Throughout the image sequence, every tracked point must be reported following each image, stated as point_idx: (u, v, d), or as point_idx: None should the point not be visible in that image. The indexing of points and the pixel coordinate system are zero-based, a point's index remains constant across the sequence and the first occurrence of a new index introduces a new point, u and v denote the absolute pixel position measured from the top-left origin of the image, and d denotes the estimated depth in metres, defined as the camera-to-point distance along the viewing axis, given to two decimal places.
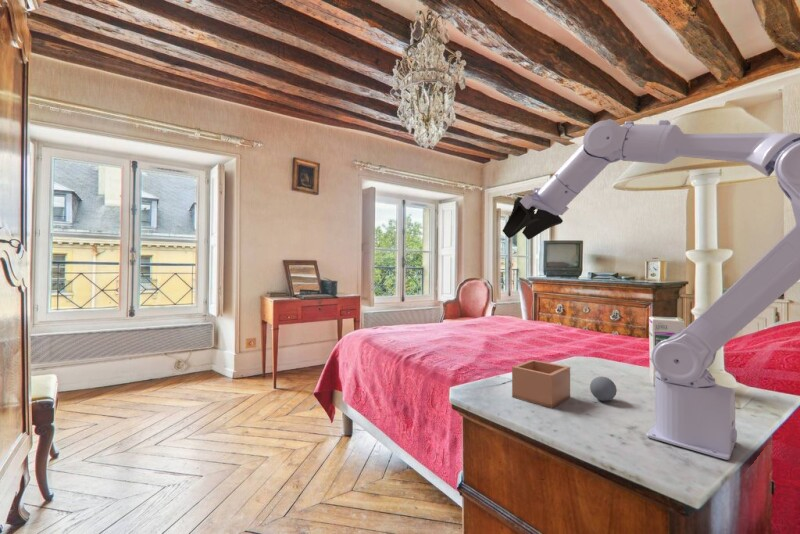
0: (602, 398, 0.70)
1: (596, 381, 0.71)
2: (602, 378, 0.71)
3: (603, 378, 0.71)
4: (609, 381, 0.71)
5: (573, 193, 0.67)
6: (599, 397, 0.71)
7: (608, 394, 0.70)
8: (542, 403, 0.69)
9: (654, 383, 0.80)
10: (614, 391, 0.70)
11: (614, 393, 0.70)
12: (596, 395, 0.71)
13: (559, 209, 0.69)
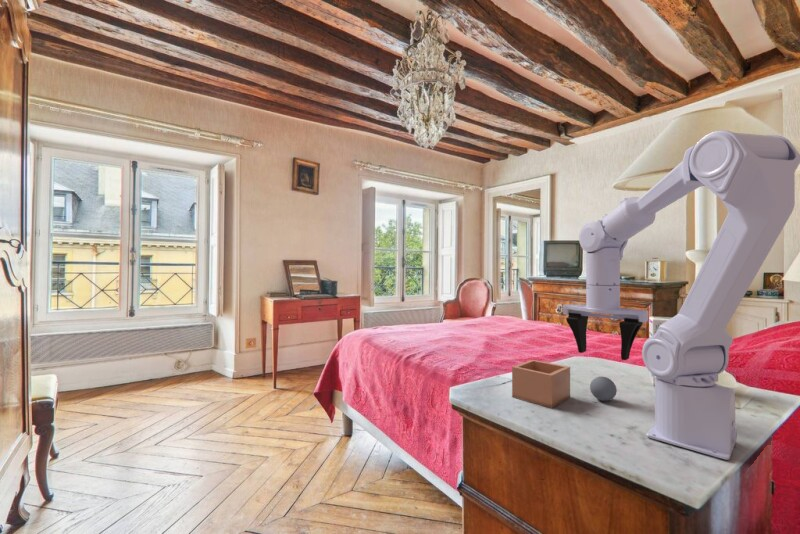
0: (602, 398, 0.70)
1: (596, 381, 0.71)
2: (602, 378, 0.71)
3: (603, 378, 0.71)
4: (609, 381, 0.71)
5: (592, 286, 0.70)
6: (599, 397, 0.71)
7: (608, 394, 0.70)
8: (542, 403, 0.69)
9: (654, 383, 0.80)
10: (614, 391, 0.70)
11: (614, 393, 0.70)
12: (596, 395, 0.71)
13: (594, 306, 0.70)
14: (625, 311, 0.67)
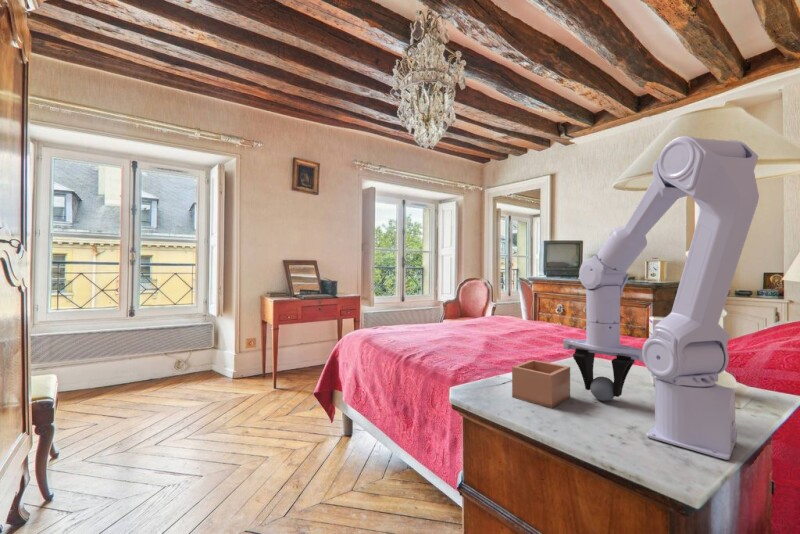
0: (602, 398, 0.70)
1: (596, 381, 0.71)
2: (602, 378, 0.71)
3: (603, 378, 0.71)
4: (609, 381, 0.71)
5: (592, 323, 0.71)
6: (599, 397, 0.71)
7: (608, 394, 0.70)
8: (542, 403, 0.69)
9: (654, 383, 0.80)
10: None
11: None
12: (596, 395, 0.71)
13: (595, 343, 0.70)
14: (625, 350, 0.67)
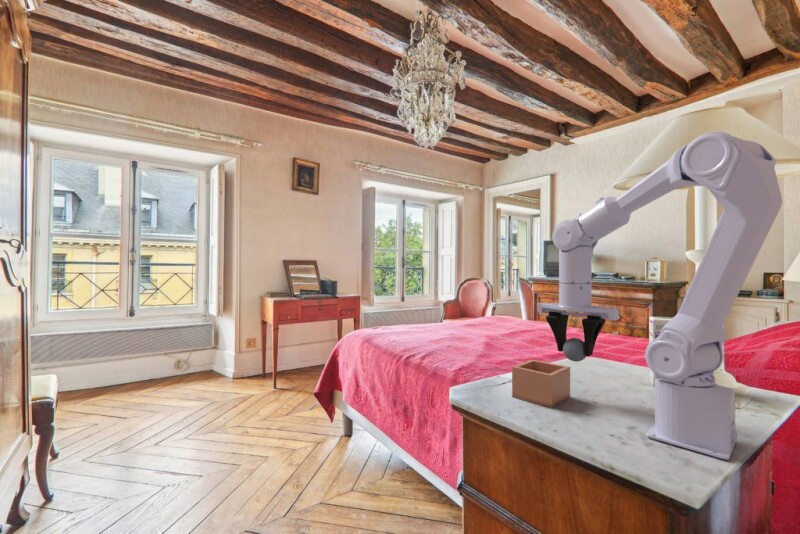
0: (573, 358, 0.71)
1: (568, 342, 0.72)
2: (574, 339, 0.72)
3: (575, 339, 0.72)
4: (580, 341, 0.71)
5: (564, 284, 0.71)
6: (570, 357, 0.71)
7: (579, 354, 0.70)
8: (542, 403, 0.69)
9: (654, 383, 0.80)
10: None
11: None
12: (568, 355, 0.72)
13: (566, 304, 0.71)
14: (595, 309, 0.68)
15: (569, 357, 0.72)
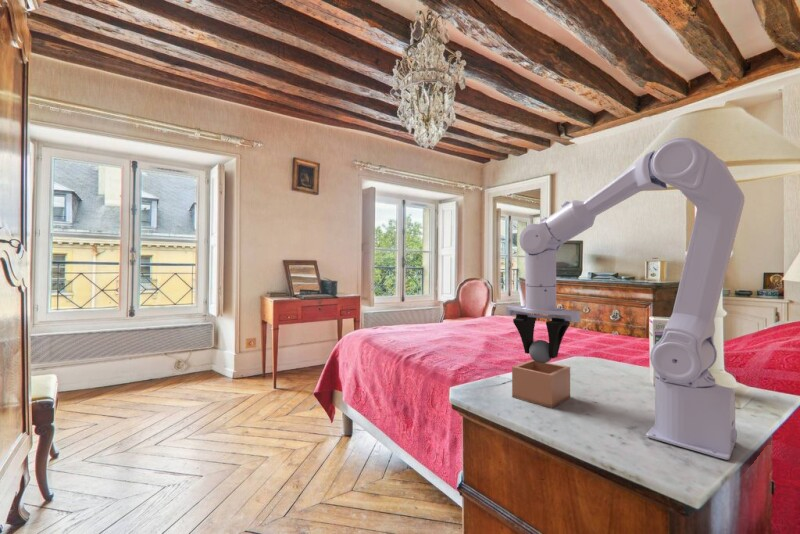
0: (538, 360, 0.72)
1: (533, 344, 0.73)
2: (540, 341, 0.73)
3: (540, 341, 0.73)
4: (546, 343, 0.72)
5: (529, 287, 0.72)
6: (536, 359, 0.72)
7: (544, 356, 0.71)
8: (542, 403, 0.69)
9: (654, 383, 0.80)
10: None
11: None
12: (533, 357, 0.73)
13: (531, 307, 0.72)
14: (558, 312, 0.69)
15: (535, 359, 0.73)
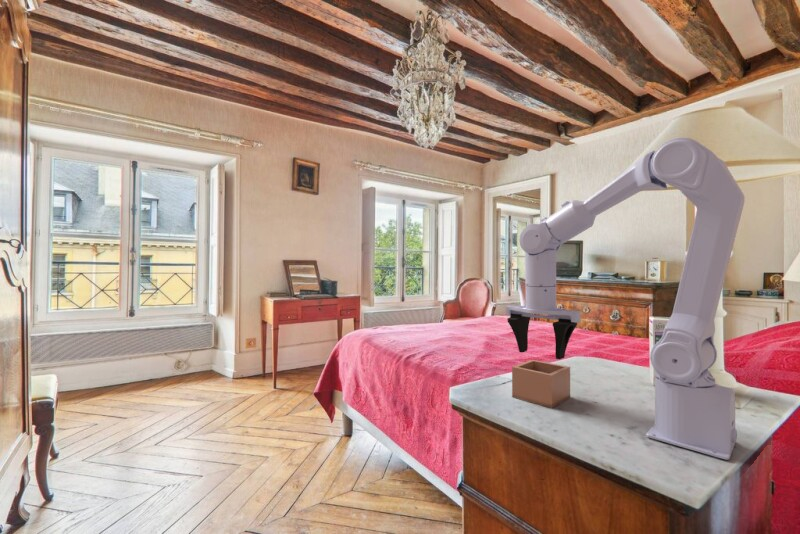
0: None
1: None
2: None
3: None
4: None
5: (529, 287, 0.72)
6: None
7: None
8: (542, 403, 0.69)
9: (654, 383, 0.80)
10: None
11: None
12: None
13: (531, 307, 0.72)
14: (558, 312, 0.69)
15: None
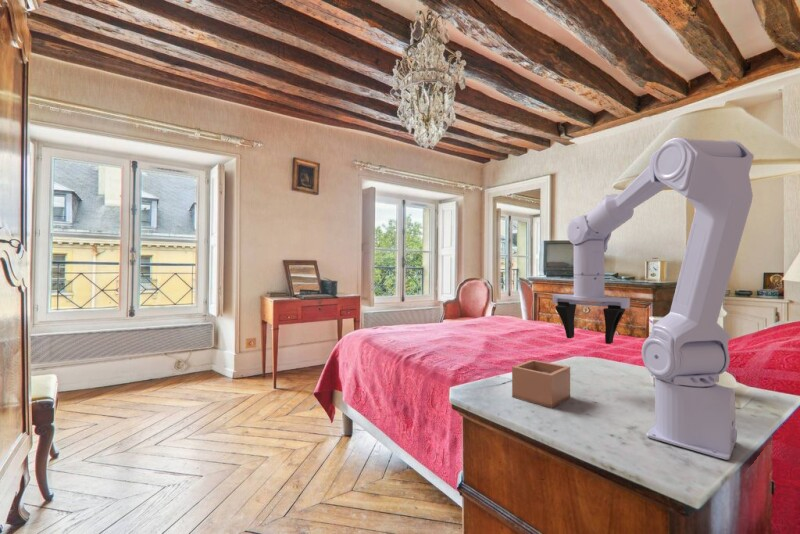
0: None
1: None
2: None
3: None
4: None
5: (579, 276, 0.76)
6: None
7: None
8: (542, 403, 0.69)
9: (654, 383, 0.80)
10: None
11: None
12: None
13: (581, 294, 0.76)
14: (609, 298, 0.73)
15: None
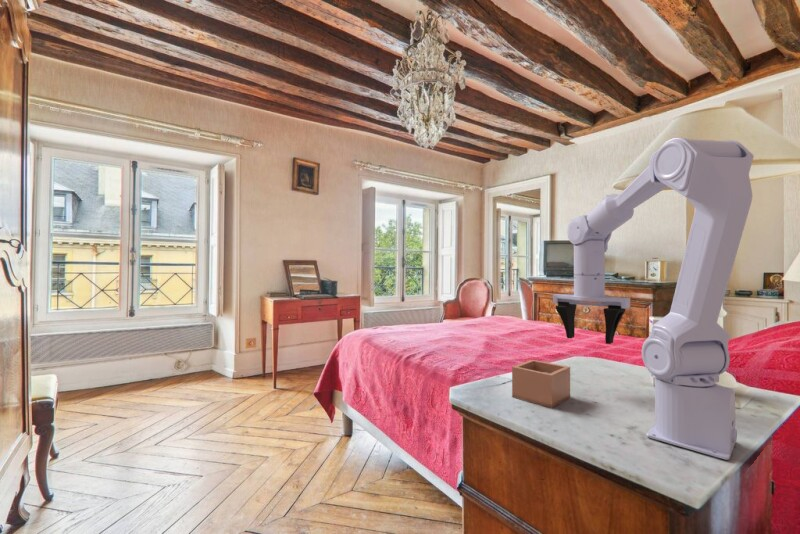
0: None
1: None
2: None
3: None
4: None
5: (579, 276, 0.76)
6: None
7: None
8: (542, 403, 0.69)
9: (654, 383, 0.80)
10: None
11: None
12: None
13: (581, 294, 0.76)
14: (609, 298, 0.73)
15: None
